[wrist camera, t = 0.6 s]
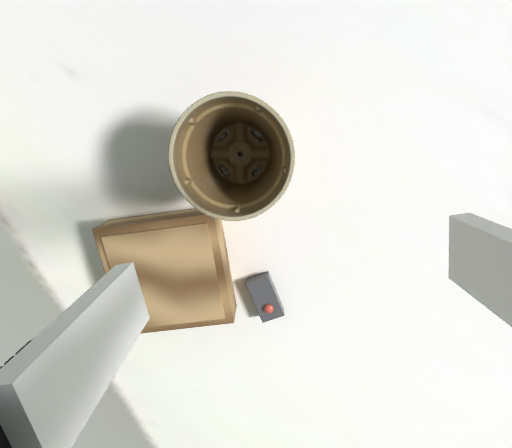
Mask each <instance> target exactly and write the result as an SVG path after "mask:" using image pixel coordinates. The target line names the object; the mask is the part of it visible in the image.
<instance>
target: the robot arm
mask: <svg viewBox="0 0 512 448" xmlns="http://www.w3.org/2000/svg"><path fill="white" fill-rule="evenodd" d="M449 279H451V280H452V281H453V282H455V283H456V284H457V285H458V286H460V287H461V288H462V289H464V290H465V291H466V292H467V293H469V294H470V295H471V296H473V297H474V298H475V299H476V300H478V301H479V302H480V303H482V304H483V305H484V306H485V307H487V308H488V309H489V310H491V311H492V312H493V313H494V314H496V315H497V316H498V317H500V318H501V319H502V320H503V321H505V322H506V323H507V324H509V325H510V326H511V327H512V229H510V228H507V227H505V226H502V225H499V224H497V223H494V222H492V221H489V220H487V219H484V218H481V217H479V216H476V215H474V214H471V213H464V214H458V215H451V216H449ZM149 318H150V317H149V314H148V311H147V307H146V304H145V301H144V297H143V294H142V290H141V287H140V284H139V280H138V277H137V274H136V270H135V267H134V264H133V262H131V263H124V264H118V265H115V266H114V267H113V268H112V269H111V270H110V271H108V272H107V273H106V274H105V275H104V276H103V277H102V278H101V279H100V280H98V281H97V282H96V283H95V284H94V285H93V286H92V287H91V288H90V289H88V290H87V291H86V292H85V293H84V294H83V295H82V296H81V297H80V298H78V299H77V300H76V301H75V302H74V303H73V304H72V305H71V306H70V307H69V308H67V309H66V310H65V311H64V312H63V313H62V314H61V315H60V316H59V317H57V318H56V319H55V320H54V321H53V322H52V323H51V324H50V325H49V326H48V327H46V328H45V329H44V330H43V331H42V332H41V333H40V334H39V335H38V336H36V337H35V338H34V339H33V340H31V341H29V342H28V343H27V344H26V345H25V346H23V347H22V348H21V349H20V350H19V351H18V352H17V353H16V355H15V356H12V357H11V358H10V359H9V360H8V361H7V362H5V364H4V366H1V367H0V448H71V447H72V445H73V444H74V442H75V440H76V439H77V437H78V435H79V434H80V432H81V430H82V429H83V427H84V425H85V424H86V422H87V420H88V419H89V417H90V416H91V414H92V412H93V410H94V409H95V407H96V406H97V404H98V402H99V401H100V399H101V397H102V395H103V394H104V392H105V391H106V389H107V388H108V386H109V384H110V383H111V381H112V379H113V378H114V376H115V374H116V373H117V371H118V369H119V368H120V366H121V365H122V363H123V361H124V360H125V358H126V356H127V355H128V353H129V351H130V350H131V348H132V346H133V345H134V343H135V341H136V340H137V338H138V337H139V335H140V333H141V332H142V330H143V328H144V327H145V325H146V323H147V322H148V320H149Z"/></svg>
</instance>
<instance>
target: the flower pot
mask: <svg viewBox="0 0 512 448" xmlns="http://www.w3.org/2000/svg"><path fill="white" fill-rule="evenodd" d="M253 130H255V131H257V132H258V133H259V134H260V135H261V136H262V141H260V140H259V139H258V138H257V137H256V136H255V135H254V134H253V133H252V131H253ZM226 132H227V133H228V134H227V135H226V136H225V138H224V139H222V140H221V141H220V140H219V139H220V137H221V136H222V135H223V134H224V133H226ZM168 152H169V166H170V171H171V174H172V177H173V180H174V182H175V185H176V186H177V188H178V190H179V191H180V193H181V194H182V196H183V197H184V198H185V199H186V200H187V201H188V202H189V203H190V204H191V205H192V206H193V207H195V208H196V209H197V210H199V211H200V212H202V213H204V214H206V215H208V216H211V217H214V218H217V219H220V220H226V221H240V220H246V219H250V218H253V217H256V216H258V215H260V214H262V213H263V212H265V211H267V210H268V209H269V208H271V207H272V206H273V205H274V204H275V203H276V202H277V201H278V200H279V199H280V198H281V197H282V195H283V194H284V193H285V191H286V189H287V187H288V185H289V183H290V180H291V178H292V174H293V170H294V164H295V152H294V145H293V140H292V137H291V134H290V132H289V130H288V128H287V126H286V124H285V122H284V121H283V120H282V118H281V117H280V116H279V114H278V113H277V112H276V111H275V110H274V109H273V108H272V107H271V106H269V105H268V104H266V103H265V102H264V101H262V100H260V99H258V98H257V97H254V96H252V95H249V94H245V93H241V92H230V91H228V92H218V93H213V94H210V95H207V96H205V97H203V98H201V99H199V100H197V101H196V102H195V103H193V104H192V105H191V106H190V107H188V108H187V110H186V111H185V112H184V113H183V114H182V115H181V117H180V118H179V120H178V122H177V123H176V125H175V127H174V129H173V131H172V135H171V138H170V143H169V151H168ZM238 152H242V156H238ZM221 165H222V166H223V167H224V168H225V169H226V170H227V171H228V172H229V175H225V174H224V173H223V172H222V170H221V169H220V168H219V166H221ZM259 166H261V168H260V171H259V172H258V173H257V174H256V175H255V176H252V172H253V171H255V170H256V169H257V168H258V167H259Z"/></svg>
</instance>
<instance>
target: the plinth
mask: <svg viewBox="0 0 512 448" xmlns="http://www.w3.org/2000/svg"><path fill="white" fill-rule="evenodd" d="M93 233H94V237H95V240H96V243H97V247H98V250H99V253H100V257H101V260H102V263H103V267H104V270H105V273H107V272H108V271H110V270H111V269H112V268H113V267H114V266H115V265H118V264H124V263H131V262H133V264H134V267H135V270H136V274H137V277H138V280H139V284H140V287H141V290H142V294H143V297H144V301H145V304H146V307H147V311H148V314H149V317H150V318H149V320H148V322H147V323H146V325H145V327H144V328H143V330H142V332H141V333H148V332H157V331H166V330H175V329H184V328H193V327H201V326H210V325H219V324H228V323H234V318H235V312H236V300H235V294H234V289H233V283H232V277H231V272H230V266H229V260H228V255H227V249H226V244H225V238H224V232H223V227H222V221H221V220H220V219H217V218H214V217H211V216H208V215H206V214H204V213H202V212H200V211H199V210H197V209H188V210H181V211H173V212H166V213H158V214H151V215H144V216H136V217H129V218H121V219H114V220H109V221H107V222H105V223H103V224H102V225H100V226H98V227H96V228H94V229H93Z"/></svg>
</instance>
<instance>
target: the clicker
mask: <svg viewBox="0 0 512 448" xmlns="http://www.w3.org/2000/svg"><path fill="white" fill-rule="evenodd" d="M246 286H247V288H248V290H249V293H250V295H251V297H252V299H253V302H254V304H255V306H256V309H257V311H258V313H259V315H260V318H261V320H262V322H266V321H269V320H272V319H275V318H278V317H281V316H284V308H283V306H282V303H281V301H280V299H279V296H278V294H277V291H276V289H275V286H274V284H273V282H272V279H271V277H270V274H269V272H265V273H262V274H259V275H257V276H254V277H251V278H248V279H247V282H246Z"/></svg>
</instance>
